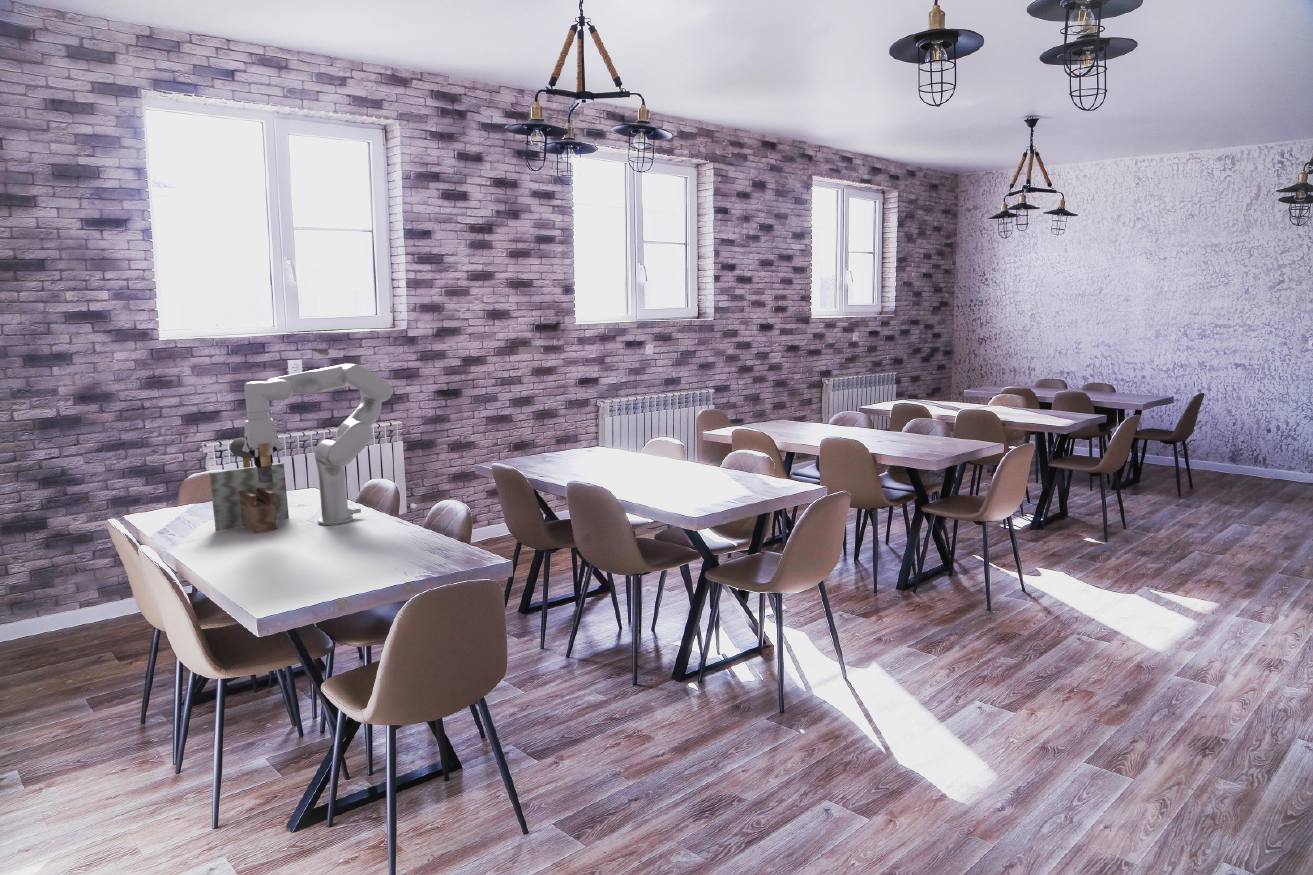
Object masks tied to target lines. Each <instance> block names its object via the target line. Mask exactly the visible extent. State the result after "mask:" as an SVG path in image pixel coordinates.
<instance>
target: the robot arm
mask: <svg viewBox="0 0 1313 875" xmlns="http://www.w3.org/2000/svg"><path fill="white" fill-rule="evenodd" d="M347 387H354V388H355V389H357V390H359V394H360V403H359V405H358V406H357V407H356V408H355V410H354V411H353V412H352V413H351V414H350V415H349V416H348V417H347V418H346V419H345V420H344V421H343V422H342V423H340V425H339V426H338V428H337V430H336V436H337V438H338V439H337V440H335V439H323V440H322V441H319V443H318V444H317V445H316V447H315V450H314V459H315V460H314V461H315V464H316V468H317V474H318V486H319V494H320V495H319V497H320V506H321V517H320V518H319V519H317V524H319V525H323V526H336V525H343V524H347V523H349V522H352V521H353V520H354V516H353V515H354V514H355V515H356V514H360V513H362V509H361V507H356V508H355V507H353V508H351V507H349V506H348V505H349V504H348V492H347V480H346V471H345V467H346V466H348V465H349V464H350V463H351V462H352V461H354V460H355V459H356V457H357V456H358V455H359V454H360V453H361V452H362V451H363V450H364V449H365V448H366V447H367V446H368V444H370V442H371V439H372V436H373V434H372V433H373V430H372V426H373V425H374V424H375V423H376V421H377V420H378V419H379V417H380V415H381V412H382V403H383V402H386V401H388V400H389V399H390V398H391V397H392V395H393V388H392V385H391V384H390V383H389V381H387V380H386V379H384V378H383V377H381V376H379V375H377V374H375V373H374V372H372V371H370V369H368V368H365V367H364V366H362V365H360V364H356V363H343V364H337V365H333V366H329V367H323V368H319V369H312V370H308V371H303V372H299V373H292V374H287V375H282V376H278V377H272V378H269V379H267V380H265V381H262V380H259V381H256V380H255V381H249V382H246V383H245V384H244V387H243V388H244V396H245V405H246V406H245V407H246V416H247V420H245V421H244V432H243V433H244V439H245V444H244V446H243V449H242V450H243V451H245V452H248V453H250V454H251V455H252V456H254V458H253V462H254V466H256V467H257V468H261V462H260V457H259V455H258V448H259V444H267V443H269V448H270V458H271V466H272V464H274V461H273V460H274V459H273V455H274V453H275V452H276V451H277V450H278V449H279V448H280V447H281V448H282V443H281V442H280V440H279V439H278V435H277V434H278V432H277V429H276V426H275V421H274V419H273V418H272V416H275V412H274V411H273V410H272V411H271V408H270V407H271V406H270V401H286V400H288V399H290V398H291V397H292V395H296V394H297V395H298V394H318V393H324V392H328V391H333V390H337V389H342V388H347ZM248 448H252V450H250V449H248Z"/></svg>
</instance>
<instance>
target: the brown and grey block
mask: <svg viewBox="0 0 1313 875" xmlns="http://www.w3.org/2000/svg"><path fill="white" fill-rule="evenodd" d="M258 455H259V457H260V462H261V468H257V470H258V480H259V482H262V483H268V482H273V478H272V468H271V458H270V448H269V443H267V444H259V448H258Z"/></svg>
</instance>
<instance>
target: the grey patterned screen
mask: <svg viewBox="0 0 1313 875" xmlns="http://www.w3.org/2000/svg"><path fill="white" fill-rule="evenodd" d="M271 468H272V478H273V482H268V483H262V482H259V480H258V470H257V467H256V466H255V465H254V466H250V467H247V468H243V467H241V468H234V469H232V468H231V469H226V470H220V471H219V470H218V471H211V472H209V483H210V491H211V492H210V493H211V502H212V510H213V519H214V521H213V522H214V527H215V528H214V529H215V531H216V532H222V531H226V530H227V531H228V530H232V529H233V530H234V529H238V528H244V529H246V530H248V531H250V532H251V531H252V532H251V533H253V534H258V533H264V532H269V531H274V530H278V522H277V521H282V520H283V519H284V520H288V519H287V518H290V514H289V505H288V504H289V503H288V494H287V485H286V482H287V481H286V475H285V474H286V472H285V463H284V462H278V463H277V462H276V463H272V466H271Z"/></svg>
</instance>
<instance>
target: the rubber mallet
mask: <svg viewBox="0 0 1313 875" xmlns="http://www.w3.org/2000/svg"><path fill="white" fill-rule="evenodd" d="M244 444H245V438H238V439H234V440H233V441H232V442H231V443H230V447H229V450H230V452H231V454H233V455H234V456H236V457H240V458H242V466H243V467H242V468H247V467H251V462H250V459H254V456H252V455H251V454H250V453H248V452H245V451H243V450H242V449H243V446H244ZM248 449H250V450H252V448H248Z"/></svg>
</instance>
